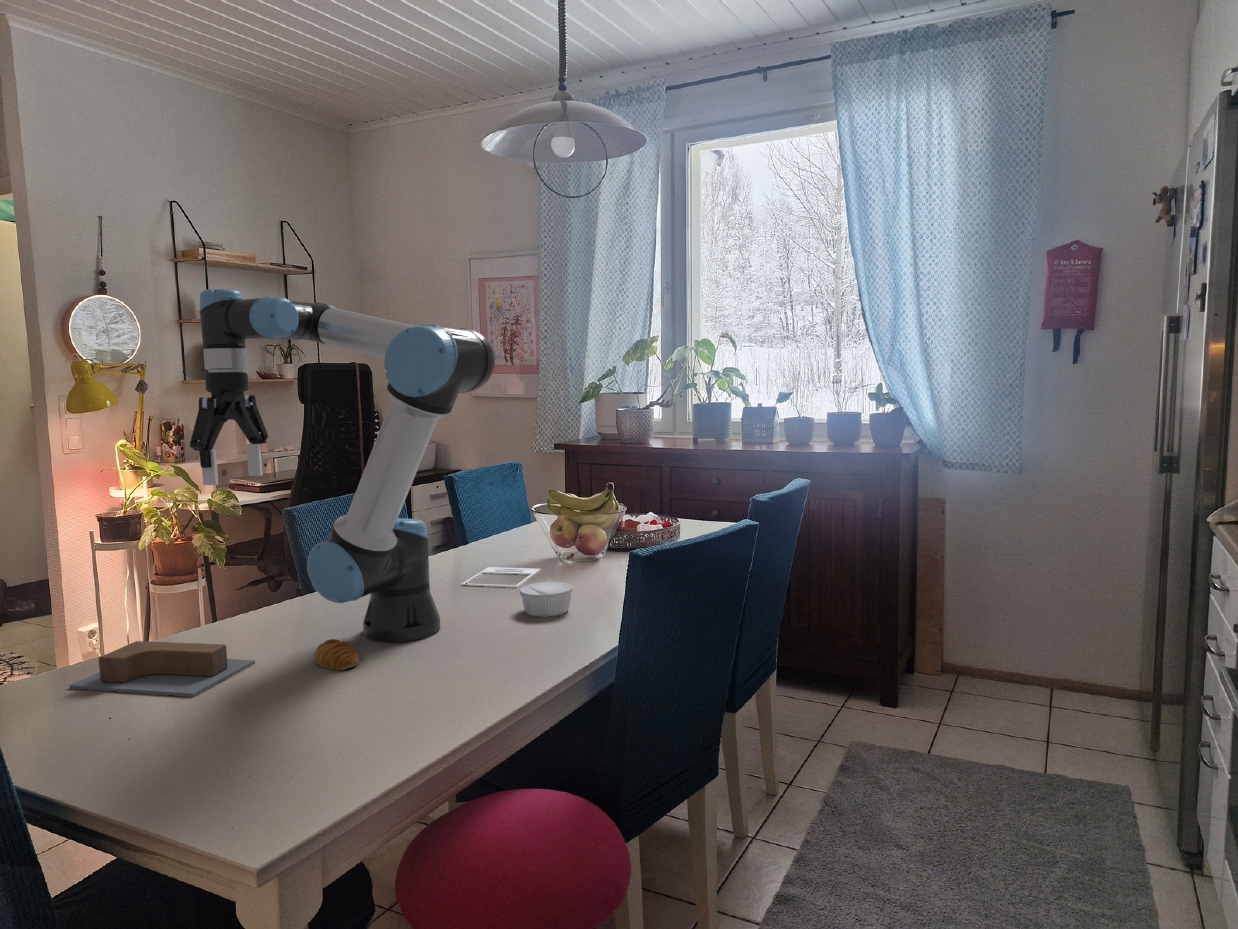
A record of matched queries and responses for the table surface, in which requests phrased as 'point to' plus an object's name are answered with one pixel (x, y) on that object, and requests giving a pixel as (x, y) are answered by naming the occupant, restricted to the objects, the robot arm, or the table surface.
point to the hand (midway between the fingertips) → (234, 480)
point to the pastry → (336, 655)
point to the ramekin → (546, 598)
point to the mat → (165, 682)
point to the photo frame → (504, 571)
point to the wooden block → (162, 660)
